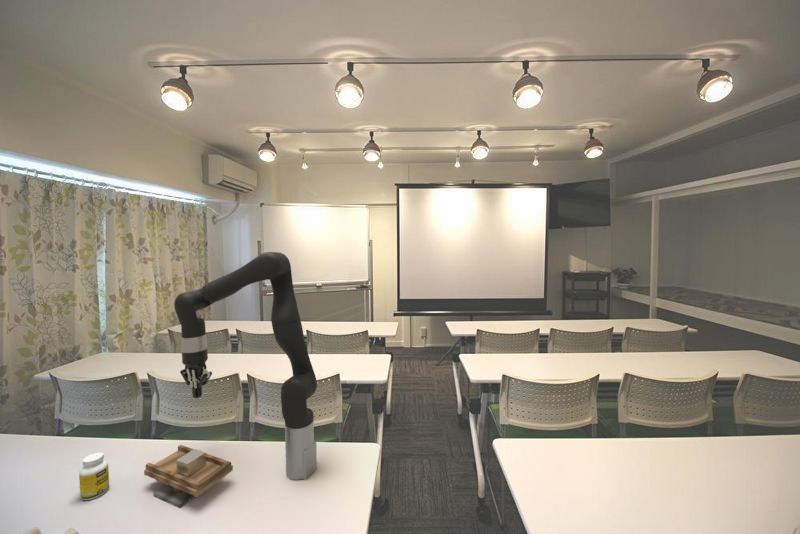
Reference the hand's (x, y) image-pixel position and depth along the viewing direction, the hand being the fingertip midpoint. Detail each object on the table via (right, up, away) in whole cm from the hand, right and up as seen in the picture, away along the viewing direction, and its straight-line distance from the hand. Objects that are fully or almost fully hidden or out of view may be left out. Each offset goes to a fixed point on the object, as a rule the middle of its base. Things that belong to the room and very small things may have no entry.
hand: (197, 397), depth 113 cm
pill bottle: (-23, -25, -13) cm, 36 cm away
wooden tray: (+4, -24, -10) cm, 27 cm away
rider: (+5, -18, -11) cm, 22 cm away
